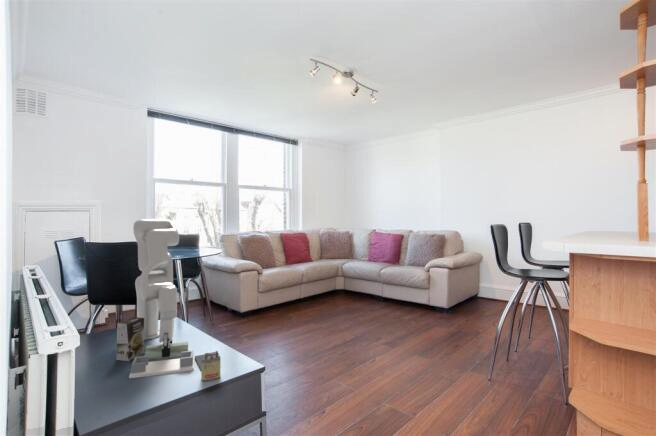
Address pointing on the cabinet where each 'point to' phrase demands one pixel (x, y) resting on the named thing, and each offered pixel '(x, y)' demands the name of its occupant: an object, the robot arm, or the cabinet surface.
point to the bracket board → (162, 365)
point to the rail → (156, 350)
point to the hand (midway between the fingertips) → (167, 352)
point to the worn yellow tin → (210, 366)
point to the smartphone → (199, 361)
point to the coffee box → (130, 338)
